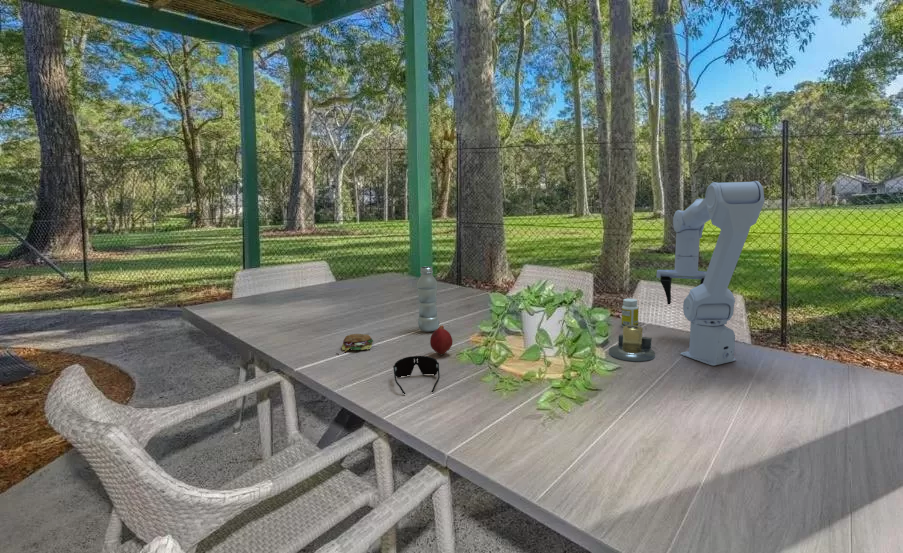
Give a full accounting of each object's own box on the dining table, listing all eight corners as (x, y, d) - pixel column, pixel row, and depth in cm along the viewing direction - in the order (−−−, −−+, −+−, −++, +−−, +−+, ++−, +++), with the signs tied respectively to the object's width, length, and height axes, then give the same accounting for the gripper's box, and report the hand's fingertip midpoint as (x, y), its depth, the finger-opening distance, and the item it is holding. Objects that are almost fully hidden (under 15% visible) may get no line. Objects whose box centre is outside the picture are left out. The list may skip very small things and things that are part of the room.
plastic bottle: (414, 333, 150) (411, 268, 147) (424, 327, 156) (421, 265, 153) (433, 334, 148) (431, 269, 144) (442, 328, 154) (440, 265, 150)
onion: (436, 359, 125) (435, 329, 124) (427, 353, 130) (425, 324, 129) (456, 355, 128) (455, 326, 127) (446, 349, 133) (445, 321, 132)
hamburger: (331, 344, 142) (329, 325, 141) (379, 341, 144) (378, 322, 143) (324, 360, 129) (322, 338, 128) (377, 357, 130) (376, 335, 129)
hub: (645, 351, 124) (646, 327, 123) (632, 354, 122) (632, 330, 121) (632, 346, 128) (632, 323, 127) (618, 349, 126) (619, 326, 125)
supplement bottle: (635, 324, 152) (636, 298, 150) (640, 328, 147) (640, 301, 146) (619, 324, 152) (620, 298, 151) (623, 328, 148) (624, 301, 146)
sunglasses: (438, 373, 116) (438, 354, 115) (443, 400, 105) (442, 379, 103) (394, 376, 115) (392, 357, 114) (394, 403, 104) (392, 382, 102)
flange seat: (613, 345, 132) (613, 333, 131) (657, 350, 127) (657, 338, 126) (604, 358, 123) (605, 345, 122) (651, 364, 117) (652, 351, 117)
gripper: (717, 254, 131) (714, 303, 134) (659, 252, 138) (657, 299, 141) (717, 257, 125) (714, 309, 128) (656, 255, 132) (654, 304, 135)
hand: (684, 304), depth 134 cm, fingers open, 7 cm apart
